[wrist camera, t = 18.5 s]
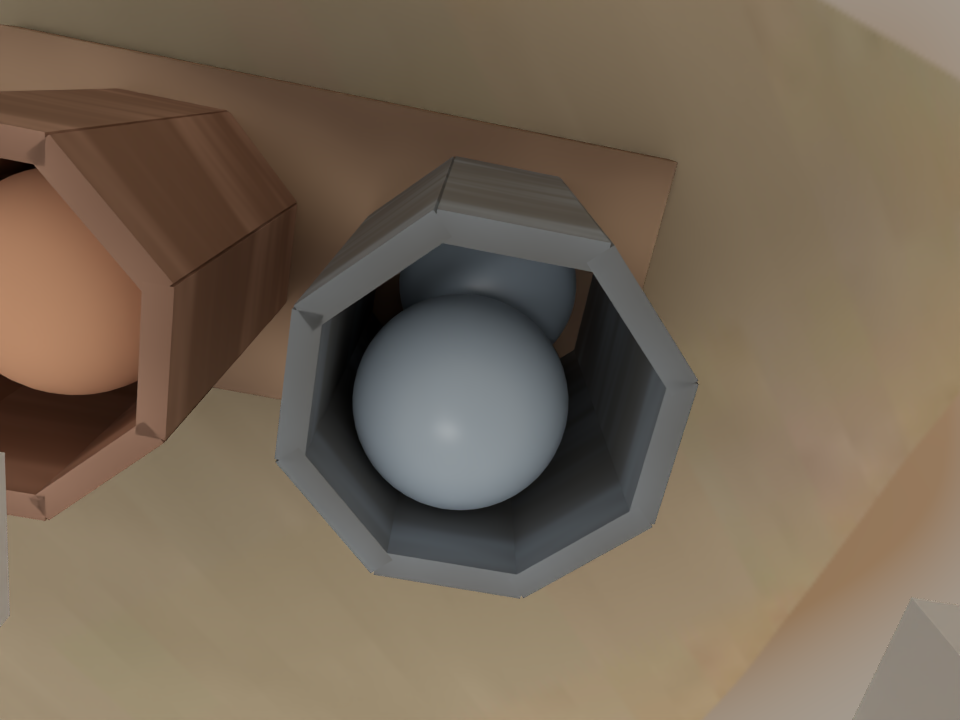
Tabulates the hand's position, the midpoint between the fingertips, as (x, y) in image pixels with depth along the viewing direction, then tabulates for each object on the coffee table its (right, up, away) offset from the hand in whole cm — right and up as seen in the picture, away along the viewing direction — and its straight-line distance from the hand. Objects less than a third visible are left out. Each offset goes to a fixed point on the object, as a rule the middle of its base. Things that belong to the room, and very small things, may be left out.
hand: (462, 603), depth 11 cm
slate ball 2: (+1, +5, +11) cm, 12 cm away
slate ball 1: (0, +6, +18) cm, 19 cm away
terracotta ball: (-13, +6, +11) cm, 18 cm away
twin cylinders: (-9, +8, +18) cm, 22 cm away
